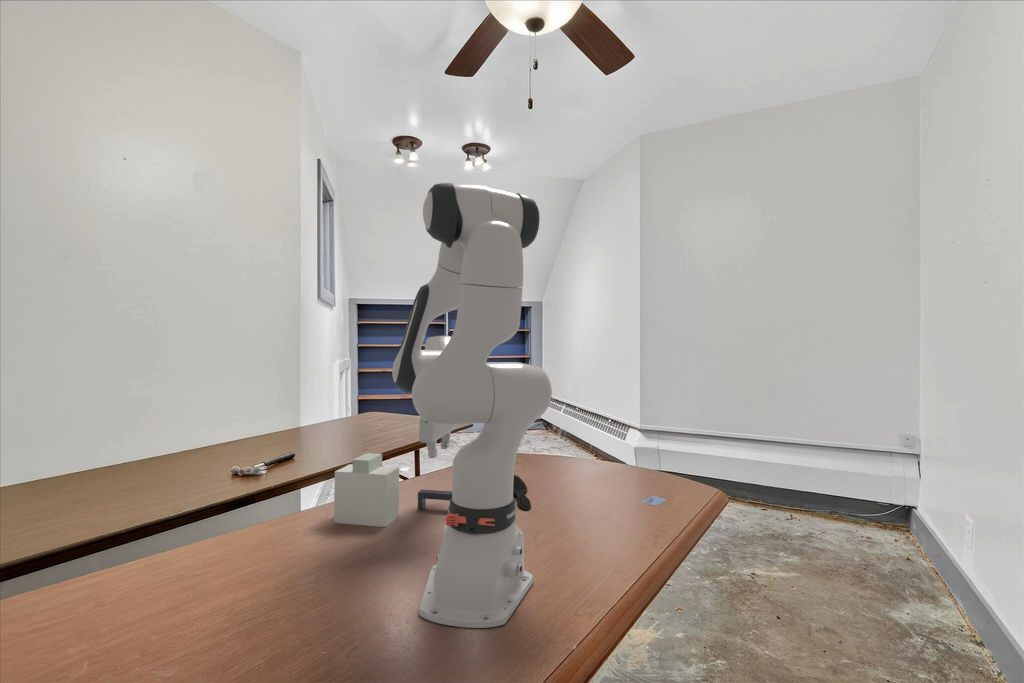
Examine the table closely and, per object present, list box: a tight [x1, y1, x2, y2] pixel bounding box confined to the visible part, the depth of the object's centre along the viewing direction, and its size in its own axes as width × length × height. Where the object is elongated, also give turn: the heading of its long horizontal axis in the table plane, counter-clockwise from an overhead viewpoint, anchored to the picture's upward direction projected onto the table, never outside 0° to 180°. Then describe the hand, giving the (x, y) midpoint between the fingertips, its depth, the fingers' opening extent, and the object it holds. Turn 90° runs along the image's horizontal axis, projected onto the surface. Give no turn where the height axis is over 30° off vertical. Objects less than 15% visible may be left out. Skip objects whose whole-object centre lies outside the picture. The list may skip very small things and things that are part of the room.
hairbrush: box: [513, 473, 532, 512], centre depth 132 cm, size 8×4×25 cm
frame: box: [417, 489, 452, 511], centre depth 120 cm, size 10×2×4 cm, turn 80°
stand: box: [333, 452, 400, 528], centre depth 113 cm, size 13×7×15 cm, turn 80°
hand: (438, 452), depth 121 cm, fingers open, 8 cm apart
